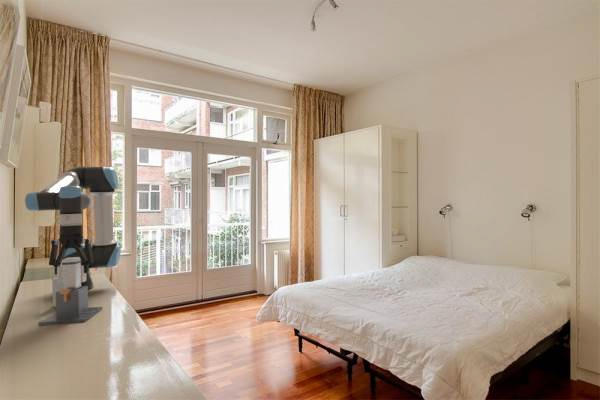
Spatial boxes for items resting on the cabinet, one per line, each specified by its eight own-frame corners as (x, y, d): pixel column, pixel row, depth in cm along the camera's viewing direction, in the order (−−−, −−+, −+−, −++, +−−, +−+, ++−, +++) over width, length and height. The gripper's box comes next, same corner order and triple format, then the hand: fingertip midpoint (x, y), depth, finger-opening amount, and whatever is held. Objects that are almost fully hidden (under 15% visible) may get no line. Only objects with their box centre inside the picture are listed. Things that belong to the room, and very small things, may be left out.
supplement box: (80, 302, 156) (79, 274, 156) (67, 307, 149) (67, 278, 149) (65, 302, 157) (64, 274, 157) (52, 307, 150) (51, 278, 150)
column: (68, 312, 138) (67, 257, 138) (82, 311, 139) (81, 256, 139) (62, 316, 133) (61, 259, 133) (76, 315, 134) (75, 258, 134)
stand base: (61, 311, 143) (60, 283, 143) (102, 308, 145) (102, 281, 145) (38, 325, 127) (38, 293, 127) (85, 321, 130) (85, 290, 130)
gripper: (36, 226, 131) (37, 285, 131) (95, 224, 134) (96, 282, 134) (47, 225, 138) (48, 281, 138) (103, 223, 142) (104, 278, 142)
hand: (72, 281), depth 136 cm, fingers open, 8 cm apart
